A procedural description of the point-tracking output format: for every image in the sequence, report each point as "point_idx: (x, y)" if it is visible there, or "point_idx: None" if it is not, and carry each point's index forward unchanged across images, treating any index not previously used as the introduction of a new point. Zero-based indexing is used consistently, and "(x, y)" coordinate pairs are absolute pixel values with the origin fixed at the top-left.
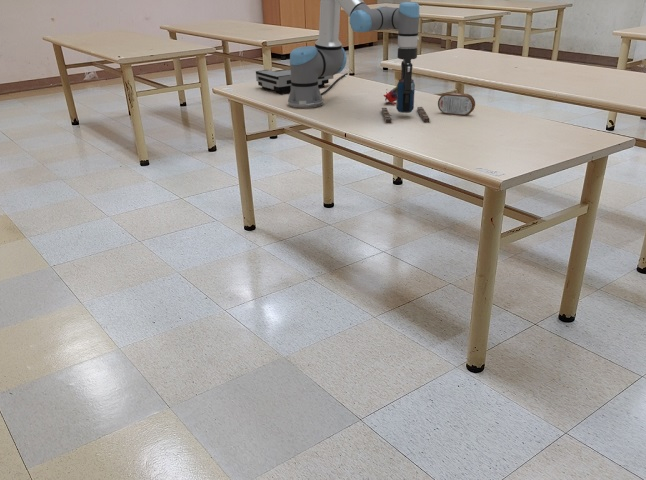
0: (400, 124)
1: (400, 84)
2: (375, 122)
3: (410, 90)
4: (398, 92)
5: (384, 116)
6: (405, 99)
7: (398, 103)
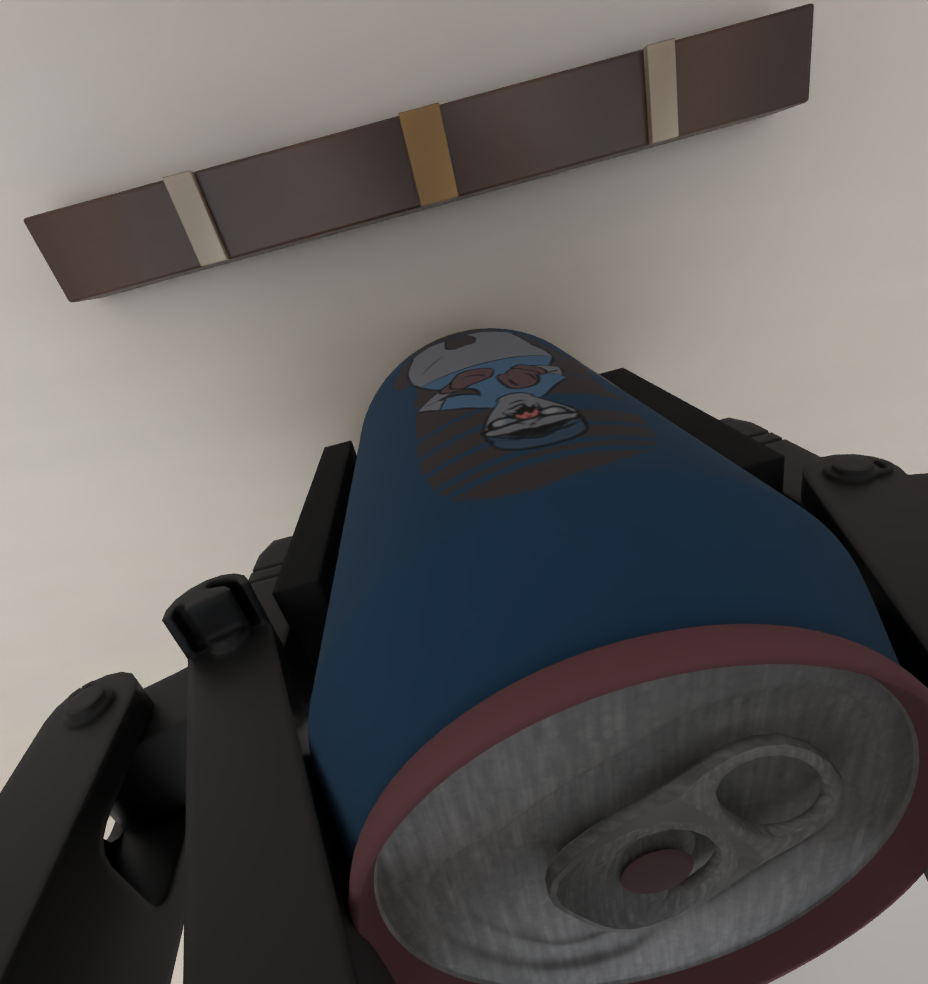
0: (96, 427)
1: (369, 664)
2: (30, 12)
3: (114, 852)
4: (400, 461)
5: (311, 144)
6: (252, 583)
7: (389, 396)
